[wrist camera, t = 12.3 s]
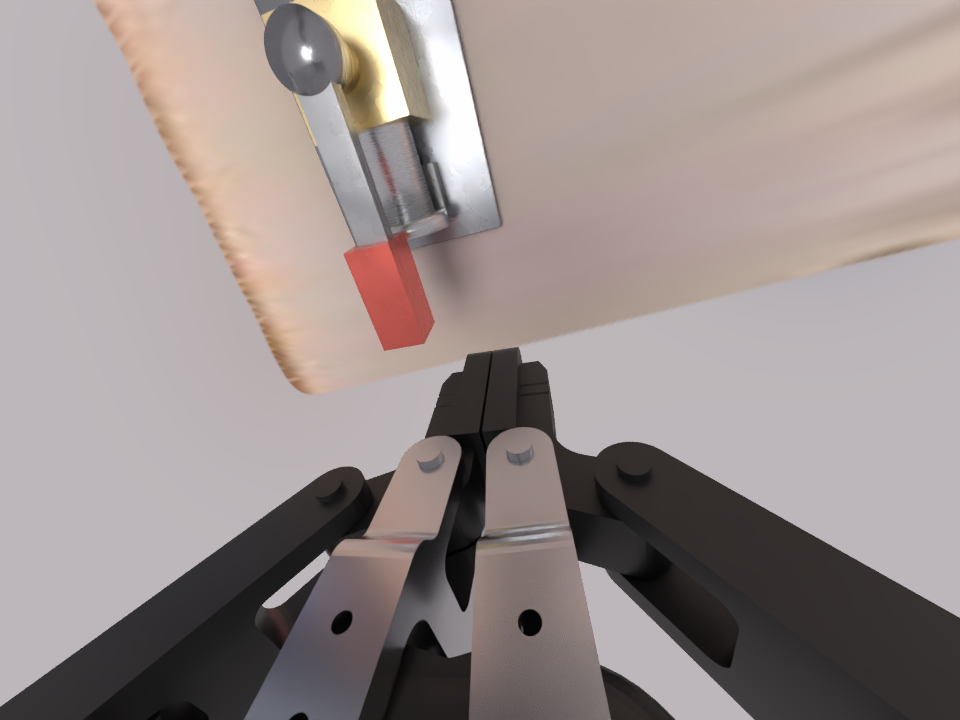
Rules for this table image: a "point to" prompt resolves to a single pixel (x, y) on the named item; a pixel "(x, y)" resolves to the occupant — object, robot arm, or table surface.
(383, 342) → the valve lever
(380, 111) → the valve body
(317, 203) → the table surface
